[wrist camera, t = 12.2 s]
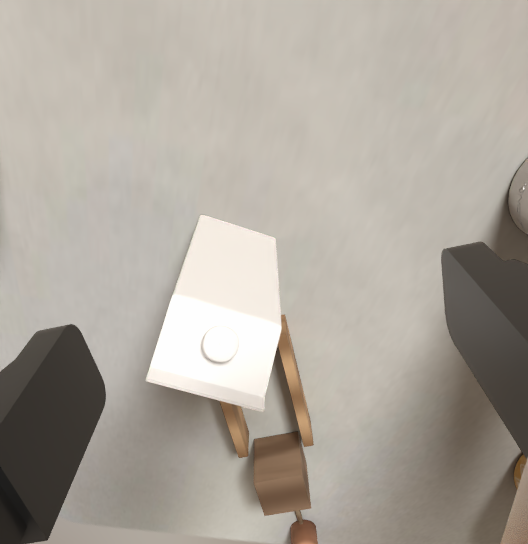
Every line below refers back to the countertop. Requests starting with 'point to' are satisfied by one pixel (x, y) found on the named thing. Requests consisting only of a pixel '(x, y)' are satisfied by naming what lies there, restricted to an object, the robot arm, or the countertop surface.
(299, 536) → the tethered walnut block
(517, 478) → the planter
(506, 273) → the robot arm
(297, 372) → the frame
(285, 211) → the countertop surface
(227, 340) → the milk carton
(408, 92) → the countertop surface
